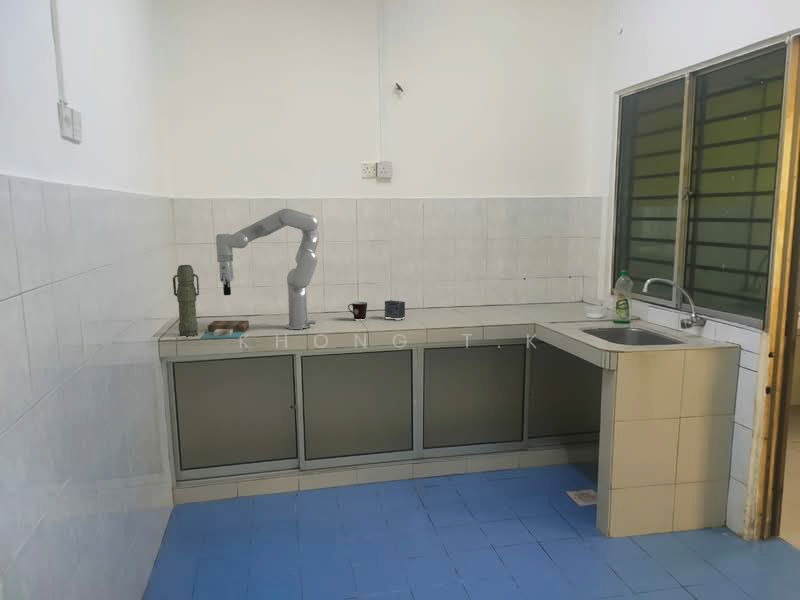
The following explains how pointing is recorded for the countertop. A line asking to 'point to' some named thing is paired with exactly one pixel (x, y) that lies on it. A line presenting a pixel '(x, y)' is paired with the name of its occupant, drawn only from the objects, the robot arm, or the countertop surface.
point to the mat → (211, 335)
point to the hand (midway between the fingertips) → (227, 294)
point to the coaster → (223, 332)
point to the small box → (394, 309)
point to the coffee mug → (359, 309)
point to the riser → (229, 325)
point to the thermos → (186, 300)
